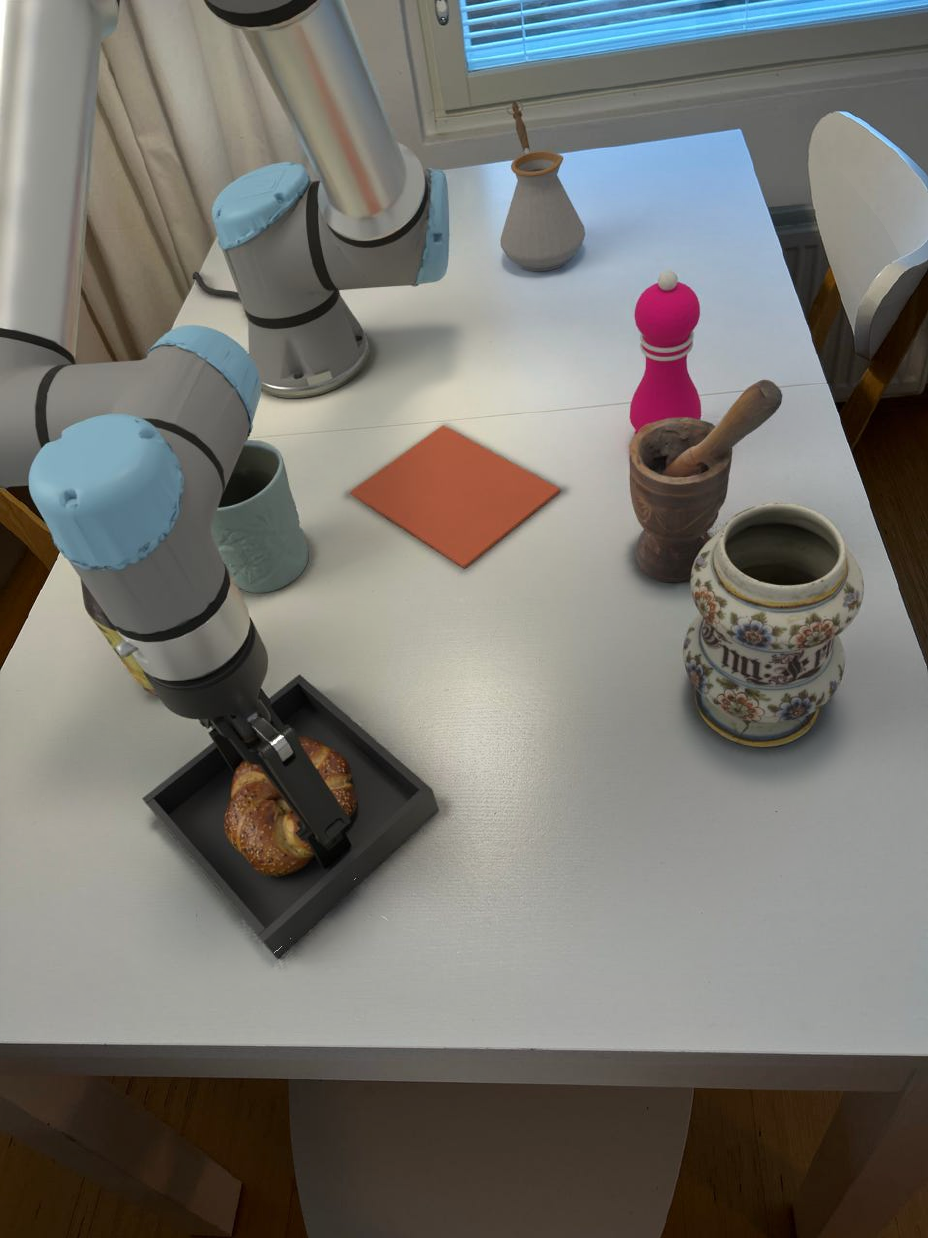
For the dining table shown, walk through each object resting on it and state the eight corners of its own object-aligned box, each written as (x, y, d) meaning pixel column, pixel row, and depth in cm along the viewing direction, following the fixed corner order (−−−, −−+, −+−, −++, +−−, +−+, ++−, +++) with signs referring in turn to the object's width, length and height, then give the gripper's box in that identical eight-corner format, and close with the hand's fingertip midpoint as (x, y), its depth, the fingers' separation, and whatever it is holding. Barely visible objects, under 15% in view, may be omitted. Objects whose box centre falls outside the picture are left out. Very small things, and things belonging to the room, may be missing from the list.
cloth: (350, 494, 102) (349, 491, 102) (443, 427, 107) (443, 425, 107) (464, 568, 92) (463, 565, 92) (560, 491, 97) (560, 488, 97)
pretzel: (339, 888, 72) (326, 866, 69) (208, 875, 74) (191, 853, 71) (375, 754, 79) (365, 729, 76) (255, 746, 81) (241, 721, 79)
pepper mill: (698, 468, 97) (707, 292, 82) (627, 467, 98) (623, 294, 83) (700, 424, 101) (710, 249, 86) (633, 423, 103) (630, 252, 88)
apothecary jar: (863, 731, 74) (912, 575, 61) (722, 779, 73) (740, 632, 60) (785, 623, 82) (813, 464, 69) (657, 666, 81) (660, 513, 68)
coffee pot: (594, 268, 125) (589, 153, 114) (510, 285, 125) (496, 173, 114) (562, 198, 139) (555, 89, 128) (486, 214, 139) (472, 107, 128)
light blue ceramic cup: (238, 612, 93) (194, 525, 84) (208, 553, 99) (165, 465, 90) (331, 569, 95) (298, 479, 86) (296, 513, 101) (262, 424, 92)
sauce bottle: (145, 653, 91) (48, 501, 76) (208, 643, 91) (122, 488, 76) (135, 708, 87) (30, 558, 72) (201, 697, 86) (109, 545, 71)
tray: (157, 818, 78) (141, 798, 76) (309, 696, 85) (299, 673, 82) (277, 959, 69) (263, 941, 66) (439, 810, 75) (432, 789, 73)
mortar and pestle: (741, 513, 92) (760, 334, 77) (767, 577, 86) (792, 397, 71) (623, 532, 92) (619, 358, 77) (640, 596, 87) (639, 422, 72)
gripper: (60, 588, 65) (177, 757, 81) (251, 785, 52) (345, 939, 69) (151, 528, 68) (247, 703, 84) (354, 701, 55) (420, 868, 71)
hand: (291, 809), depth 76 cm, fingers closed on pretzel, 11 cm apart
